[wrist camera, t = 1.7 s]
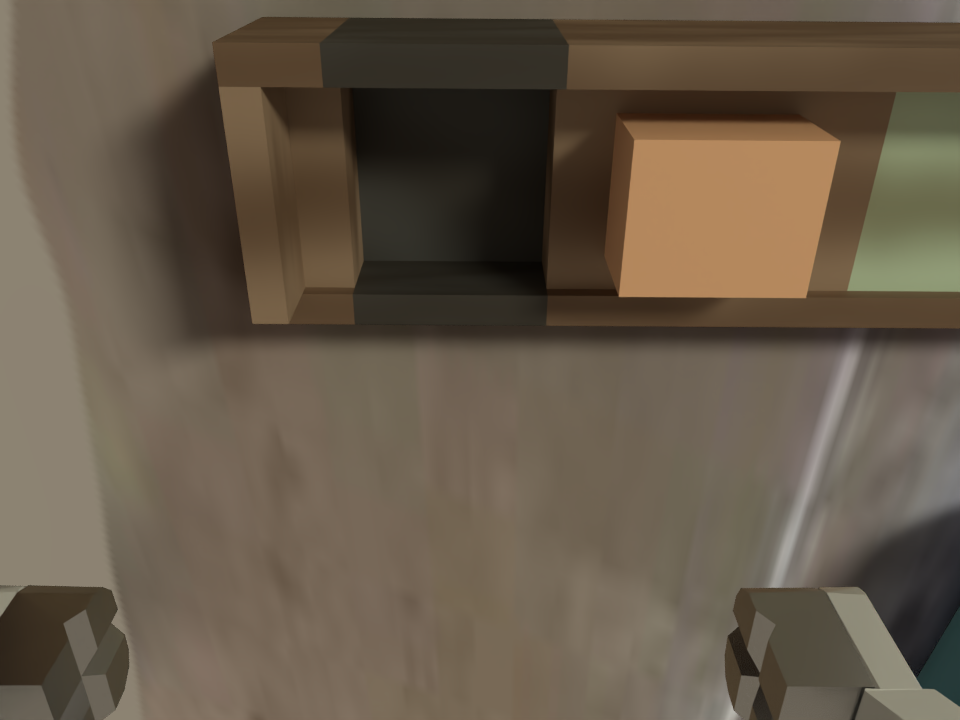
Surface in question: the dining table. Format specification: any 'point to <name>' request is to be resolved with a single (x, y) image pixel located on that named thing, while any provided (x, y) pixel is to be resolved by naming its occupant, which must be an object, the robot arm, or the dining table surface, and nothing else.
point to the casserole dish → (944, 664)
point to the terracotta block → (717, 204)
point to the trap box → (570, 164)
